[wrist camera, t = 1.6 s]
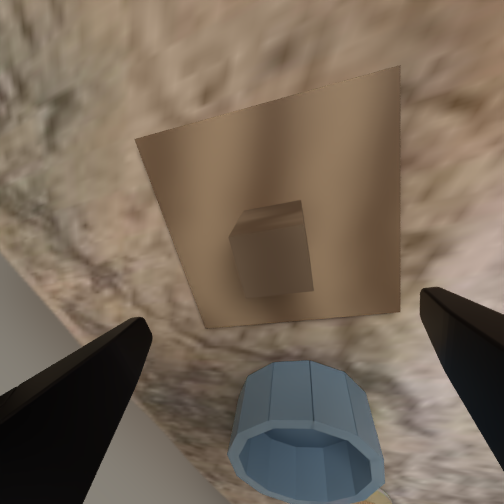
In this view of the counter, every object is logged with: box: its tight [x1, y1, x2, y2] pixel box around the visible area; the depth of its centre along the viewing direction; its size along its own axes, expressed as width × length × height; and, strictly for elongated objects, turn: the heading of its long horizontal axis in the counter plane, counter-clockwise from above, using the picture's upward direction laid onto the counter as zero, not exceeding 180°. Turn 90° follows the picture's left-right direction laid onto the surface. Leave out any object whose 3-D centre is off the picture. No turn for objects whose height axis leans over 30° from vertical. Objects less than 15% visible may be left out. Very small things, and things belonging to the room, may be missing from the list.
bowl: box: [227, 360, 385, 504], centre depth 20 cm, size 10×10×4 cm
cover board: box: [135, 65, 400, 328], centre depth 14 cm, size 13×13×5 cm
